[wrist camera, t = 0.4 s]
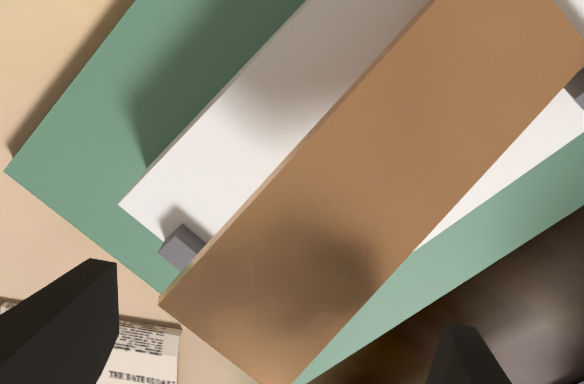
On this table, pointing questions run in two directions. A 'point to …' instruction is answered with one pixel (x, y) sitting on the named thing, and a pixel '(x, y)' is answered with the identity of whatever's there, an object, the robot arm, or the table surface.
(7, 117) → the table surface
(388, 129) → the strip
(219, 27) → the board
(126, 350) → the newspaper
